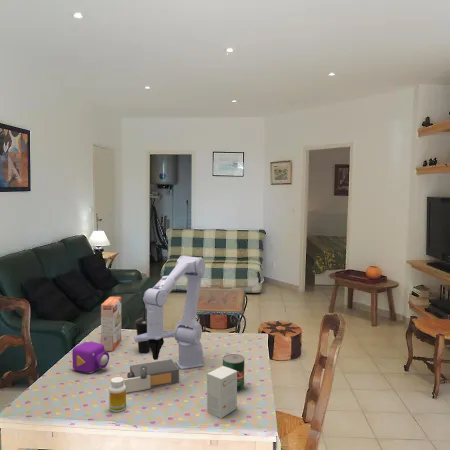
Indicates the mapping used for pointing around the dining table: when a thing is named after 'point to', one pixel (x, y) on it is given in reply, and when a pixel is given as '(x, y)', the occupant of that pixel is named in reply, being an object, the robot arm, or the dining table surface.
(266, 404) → the dining table surface
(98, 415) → the dining table surface
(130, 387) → the side door
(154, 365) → the camera housing
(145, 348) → the drinking cup
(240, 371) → the canned tomato
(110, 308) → the cracker box
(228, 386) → the small box
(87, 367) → the toy camera
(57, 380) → the dining table surface
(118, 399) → the supplement bottle
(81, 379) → the dining table surface
